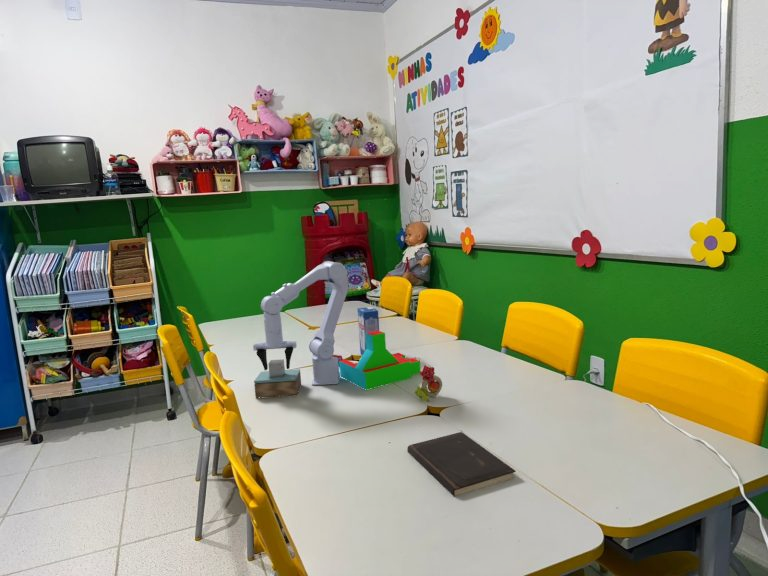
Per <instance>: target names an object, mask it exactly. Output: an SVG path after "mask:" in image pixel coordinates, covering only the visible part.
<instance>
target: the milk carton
mask: <svg viewBox="0 0 768 576" xmlns="http://www.w3.org/2000/svg"><path fill="white" fill-rule="evenodd" d="M357 323H358V337H359V350H360V351H359V352H360V355H361V356H362V355H363V354H364V352H365V350H366V335H365V333H368V332H373V331H380V319H379V310H378V309H376V308H374V307H373V306H367V307H359V308H357Z"/></svg>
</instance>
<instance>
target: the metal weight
mask: <svg viewBox="0 0 768 576" xmlns="http://www.w3.org/2000/svg"><path fill="white" fill-rule="evenodd" d="M285 370H286V368H285V359H271V360H269V362H268V371H269V375H270V378H274V377H283V376H284V374H285Z"/></svg>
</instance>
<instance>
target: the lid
mask: <svg viewBox="0 0 768 576" xmlns="http://www.w3.org/2000/svg"><path fill="white" fill-rule="evenodd" d="M299 373H300V374H301V369H300V368H299V369H285V374H284V376H283V377H274V378H270V375H269V370H268V371H267V370H264V371H260V373H258V375H257V377H255V379H254V381H253V383H254V384H255V383H268V382H284V381H296V379H297V377H298V375H299Z"/></svg>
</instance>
